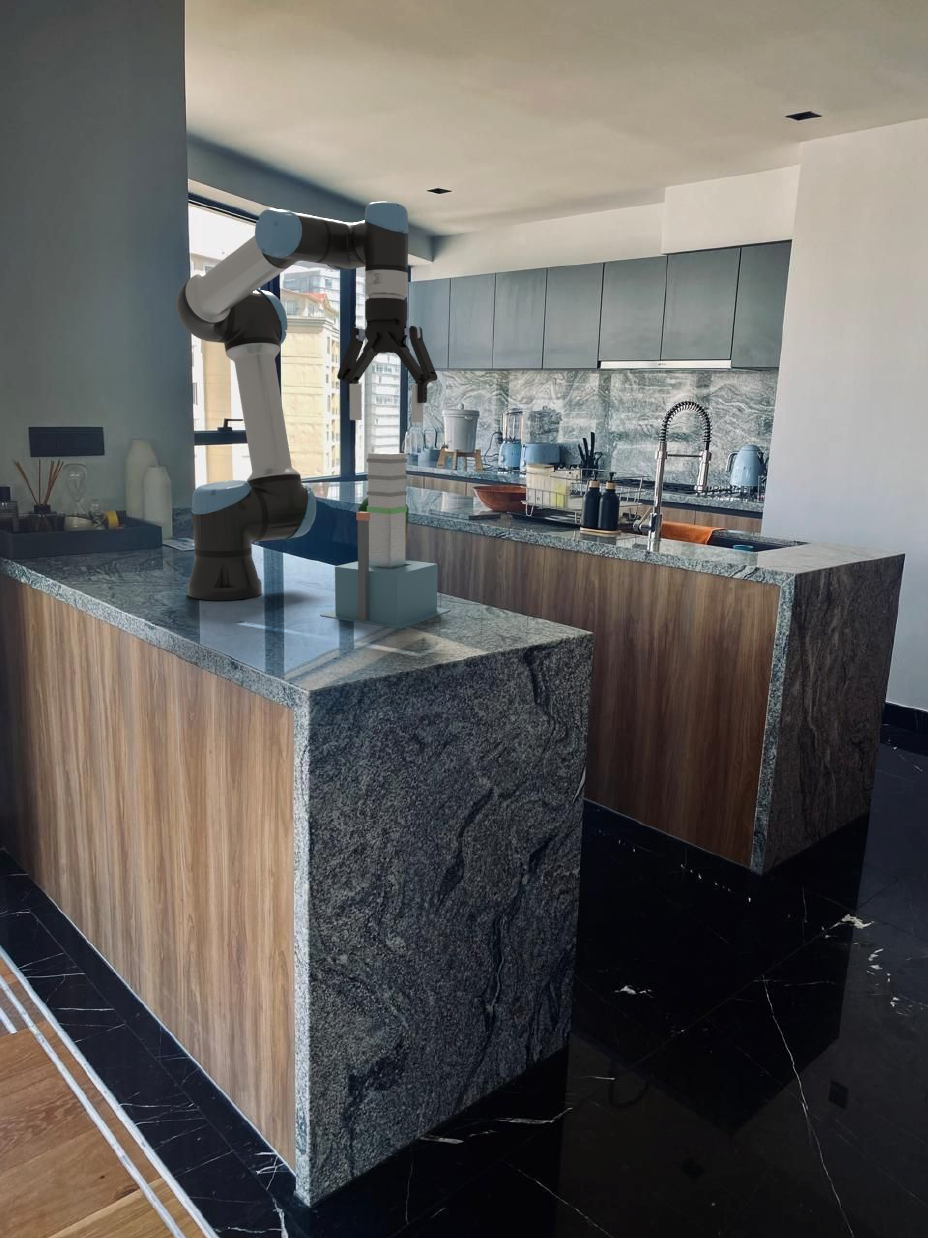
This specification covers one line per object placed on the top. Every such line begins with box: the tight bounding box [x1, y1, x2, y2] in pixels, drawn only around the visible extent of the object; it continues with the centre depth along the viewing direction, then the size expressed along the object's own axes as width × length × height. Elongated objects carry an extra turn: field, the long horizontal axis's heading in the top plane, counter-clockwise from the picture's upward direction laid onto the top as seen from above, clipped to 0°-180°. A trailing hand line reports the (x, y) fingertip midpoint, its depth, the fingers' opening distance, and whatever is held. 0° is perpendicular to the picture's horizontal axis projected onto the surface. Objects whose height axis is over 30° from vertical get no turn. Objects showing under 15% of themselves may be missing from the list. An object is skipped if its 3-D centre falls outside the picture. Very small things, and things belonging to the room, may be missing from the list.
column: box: [366, 451, 408, 570], centre depth 164 cm, size 5×5×22 cm
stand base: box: [320, 511, 452, 630], centre depth 166 cm, size 18×18×21 cm
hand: (385, 421), depth 161 cm, fingers open, 13 cm apart
